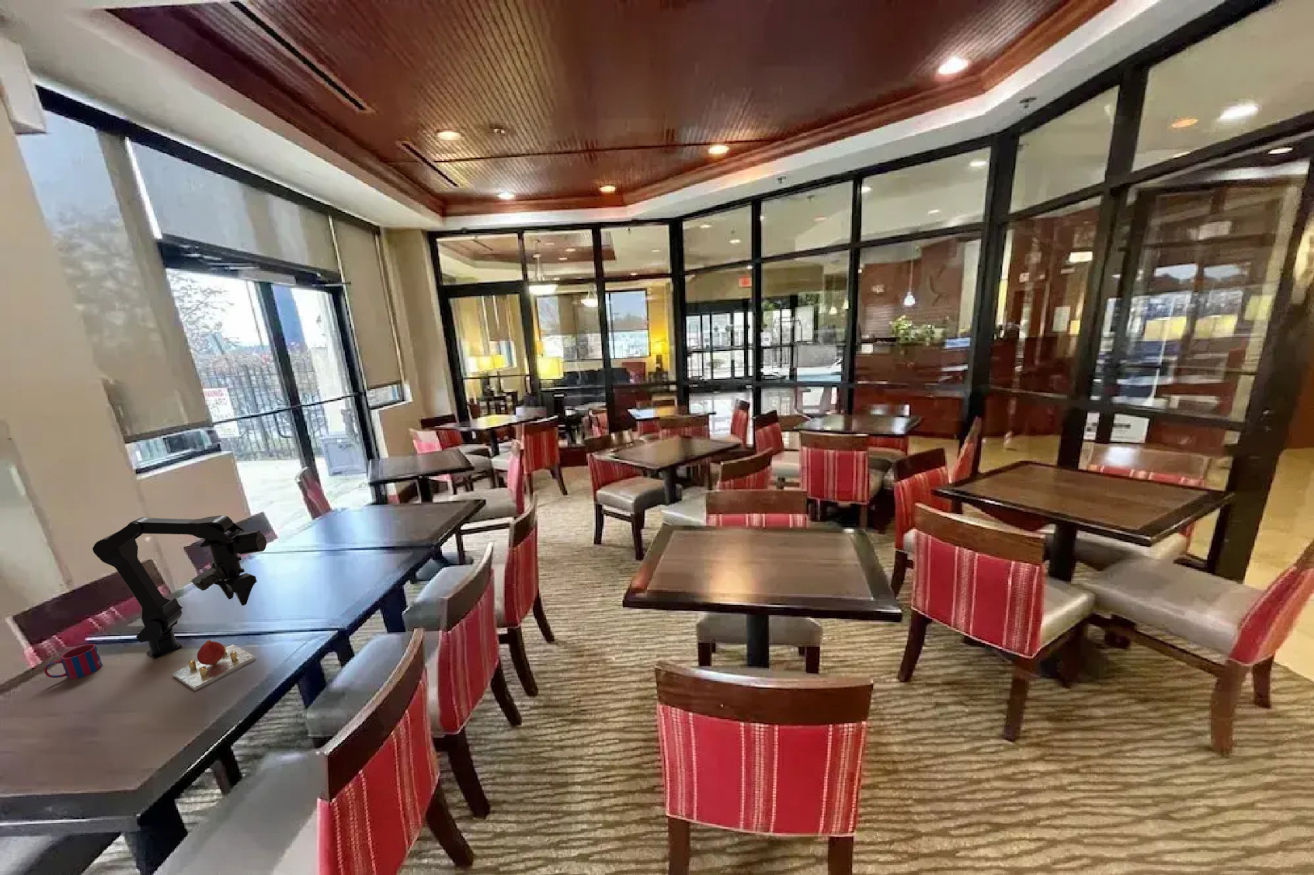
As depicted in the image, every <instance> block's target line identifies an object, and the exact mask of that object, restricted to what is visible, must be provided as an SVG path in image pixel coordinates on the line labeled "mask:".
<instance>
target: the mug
mask: <svg viewBox="0 0 1314 875" xmlns="http://www.w3.org/2000/svg"><path fill="white" fill-rule="evenodd" d="M59 657H60V659H58V660H54V661H51V662H49V663H47V664H46V665H45V666H44V669H43V670H44V671H43V672H44V675H45V676H46V677H48V678H52V679H57V678H58V679H59V678H64V677H67V679H68V680H77V679H80V678H84V677H86V676H89V675H92V674H94V673H95V672H97V671H98V670H100V669H101V668H102V667H103V663H102V660H101V657H100V653H99V650H98V648H97V644H95V643H88V644H87V643H86V644H84V645H80V646H77V647H74V648H72V649H69V650H68V651H66V652H65V653H63V654H61V655H60V656H59ZM54 664H61V665H62V667H63V669H64V672H65V673H62V674H56V675H55V674H54V675H53V674H50V673H49V671H48V668H49V666H51V665H54Z"/></svg>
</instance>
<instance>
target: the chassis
mask: <svg viewBox="0 0 1314 875" xmlns="http://www.w3.org/2000/svg"><path fill="white" fill-rule="evenodd" d="M222 645H223V644H222ZM223 646H224V649H225V653H224V655H223V657H222V658H221V659H220V660H219V661H218V663H217V664H215V665H205V664H201V663H200V662H199V661H198V660H197V661H196V659H191V660H189V661H188V662H187V664H188V665H186V666H184V667H183V668H181V669H178V670H176V671H174V672H172V676H173V678H175V679H176V680H178V681H180V682H181V683H182V684H184V685H185V686H187V687H188V688H190V689H191V690H192V691H194V692H196V691H197V690H200V689H201V688H203V687H205V686H207V685H209V684H211V683H213V682H215V681H217V680H219V679H220V678H221V679H222V677H224V676H226V675H228V674H229V675H230V674H231V673H232V672H234V671H236V670H238V669H240V668H242V667H244V666H246V665H248V664H251V662H253V661H256V660H257V659H256V656H255V655H253V654H251V653H250V652H248V651H245V650H244V649H242V648H241V647H239V646H236V645H235V644H231V645H228V646H226V645H223Z"/></svg>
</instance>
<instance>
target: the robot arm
mask: <svg viewBox="0 0 1314 875" xmlns="http://www.w3.org/2000/svg"><path fill="white" fill-rule="evenodd" d="M229 532H230V533H229ZM227 533H228V534H227ZM147 534H149V535H187V536H193V537H195V538H197V539H201V540H203V542H202V543H201V544H200V545H199V547H200V548H206V547H209V550H210V553H211V554H210V555H211V558H212V561H211V562H210V564H209V565H210V568H208V569H206V570H204V571H203V572H201V573H199V574H198V575H196V576H195V577H193V578H192V579H191V580H190V582H191V584H193V585H194V587H196V589H199V590H200V591H206V590H207V589H210V587H211V586H213V585H216V586H218V587H219V588H220V589H221V591H222V592H223V594H224V595H225V596H226V598H227V599H228V600H231V599H233V598H234V595H235V596H236V597H237V599H238V601H239V603H240V605H241V606H246V605H247V604H248V601H249V598H250V595H251V592H252V589H253V587H254V586H255V584H256V583H257V582H258V580H257V576H256V575H253V574H250V573H247V572H246V573H245V568H243V567H242V566H241V562H240V561H242V560H243V559H242V556H243V555H248V554H255V553H261V552H264V551H266V548H267V544H268V543H267V542H268V541H267V537H266V536H265V535H264V534H263V533H261V530H260V529H256V530H253V531H247V532H246V531H245V529H244V528H242V527H241V526H240V525H238V524H237V523H235V522H234V521H233V520H232V519H231V517H229V516H228V515H214V516H213V515H212V516H205V517H202V518H193V519H192V518H163V517H162V518H160V517H159V518H157V517H147V516H146V517H145V516H143V517H139V518H137V519H134V520H132V521H130V522H129V523H128V524H127V525H126V526H124V527H123V528H122V529H120V530H118V531H116V532H114V533H112V534H110V535H108V536H105V537H104V538H102V539H100V540H98V541H96V542H95V543H94V544H93V547H92V553H94V555H95V556H96V557H97V558H98V559H99V560H100V561H101V562H102V563H104V564H106V565H109V566H111V567H114V569H115V570H116V571H117V573H118V575H119V576H120V577H121V578H122V580H123V582H124V583H125V584H126V586H127V587H128V589H129V590H130V592H131V594H132V595H133V597H134V598H135V599H136V601H137V603H138V604H139V605H140V607H141V621H142V624H143V626H144V627H143V629H141V631H140V632H139V633H138V634H137V635H136V636H135V638H136V639H137V640H138V642H140V643H144V642H147V645H148V648H149V650H148V651H147V652H146V655H147V656H149V657H151V658H152V659H154V660H155V659H158V658H160V657H163V656H165V655H167V654H170V653H171V652H174V651H175V650H178V649H180V648H182V647H183V644H181V643H180V642H178V641H177V639H176V636H175V632H174V628H173V627H174V626H176V625H177V624H178V621H179V619H180V618H181V617H182V615H183V611H182V609H183V608H184V607H183V606H181V605H180V603H179V602H178V599H177V598H175V597H174V598H171V599H169V598H167V597H164V596H163V595H162V593H161V591H160V590H159V588H158V587H157V586H156V583H154V581H153V579H152V578H151V576H150V574H149V573H148V572H147V570H146V569H145V567H144V566H143V564H142V562H141V561H140V559H139V557H138V553H139V551H138V550H139V545H138V543H137V539H139V537H140V536H142V535H147ZM240 555H242V556H240Z"/></svg>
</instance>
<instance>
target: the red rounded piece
mask: <svg viewBox="0 0 1314 875" xmlns="http://www.w3.org/2000/svg"><path fill="white" fill-rule="evenodd" d="M224 653H225V649H224V646H223V644H222V643H220V642H217V641H211V640H210V639H208V640H206V642H205V643H203V645H202V646H200V649H199V650H198V652H197V653H196V659H197V661H199V662H200V663H201V664H205V665H215V664H217V663H218V661H219V660H220V659H221V658H222V657H223V655H224Z"/></svg>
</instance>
